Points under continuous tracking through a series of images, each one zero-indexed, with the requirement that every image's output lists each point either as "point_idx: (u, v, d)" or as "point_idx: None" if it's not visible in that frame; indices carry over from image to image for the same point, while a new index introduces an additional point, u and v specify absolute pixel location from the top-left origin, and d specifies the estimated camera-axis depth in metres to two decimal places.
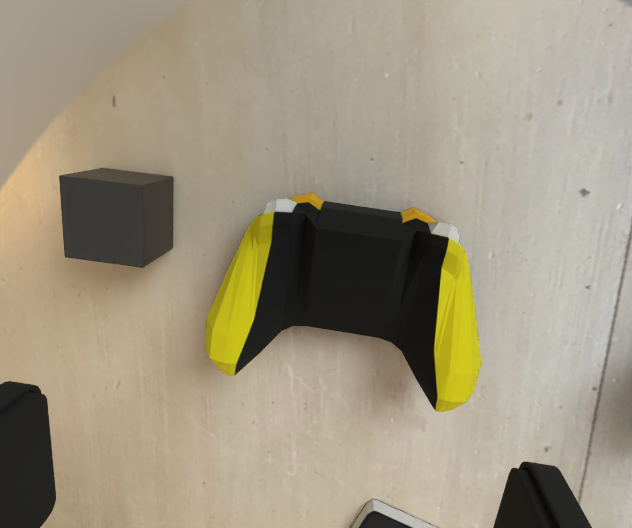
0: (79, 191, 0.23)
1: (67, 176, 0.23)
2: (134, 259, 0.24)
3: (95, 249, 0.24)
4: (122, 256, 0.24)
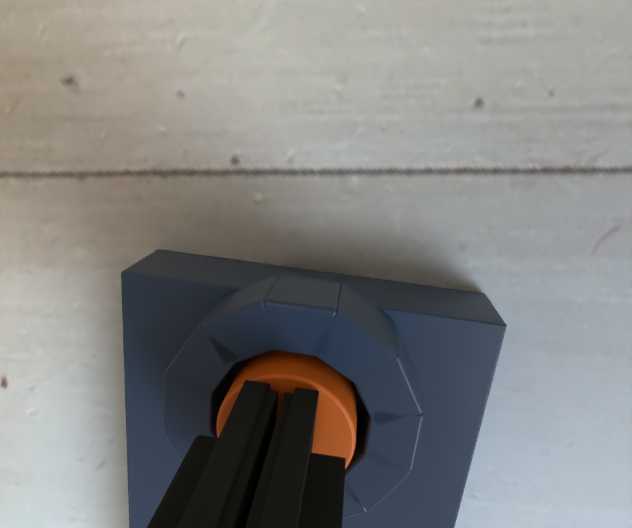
0: None
1: None
2: None
3: None
4: None
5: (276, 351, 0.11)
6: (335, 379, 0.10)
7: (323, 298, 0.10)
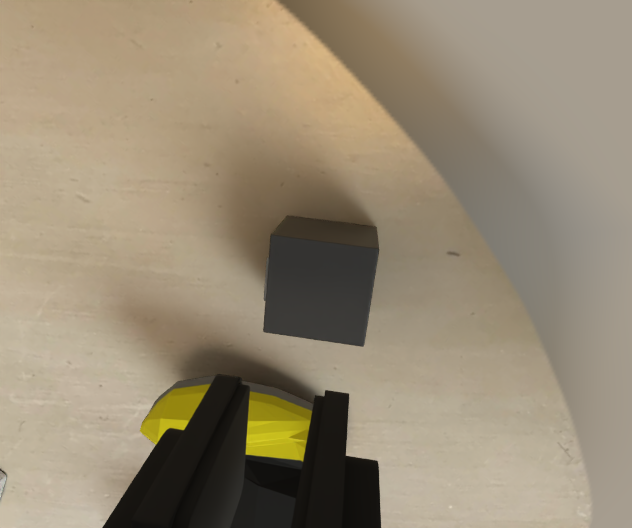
0: (358, 272, 0.18)
1: (377, 257, 0.18)
2: (273, 324, 0.19)
3: (282, 278, 0.19)
4: (276, 310, 0.19)
5: None
6: None
7: None
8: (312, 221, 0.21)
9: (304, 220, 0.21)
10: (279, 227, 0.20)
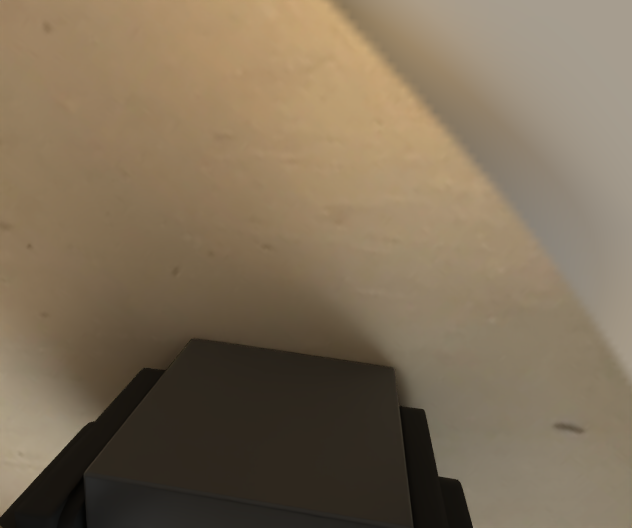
0: None
1: None
2: None
3: None
4: None
5: None
6: None
7: None
8: (244, 361, 0.09)
9: (226, 357, 0.09)
10: (139, 411, 0.07)
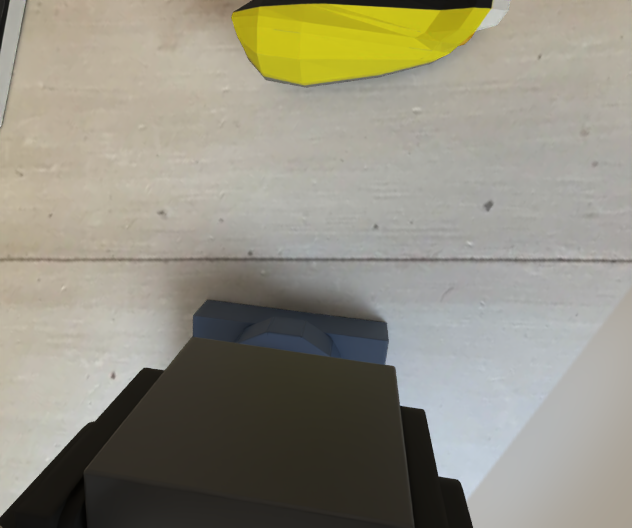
0: None
1: None
2: None
3: None
4: None
5: None
6: None
7: (295, 330, 0.21)
8: (244, 360, 0.09)
9: (226, 356, 0.09)
10: (139, 409, 0.07)
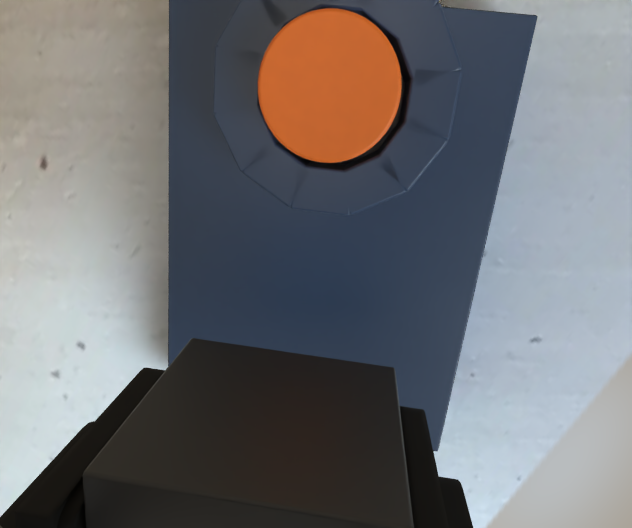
0: None
1: None
2: None
3: None
4: None
5: None
6: None
7: None
8: (244, 361, 0.09)
9: (226, 357, 0.09)
10: (138, 411, 0.07)
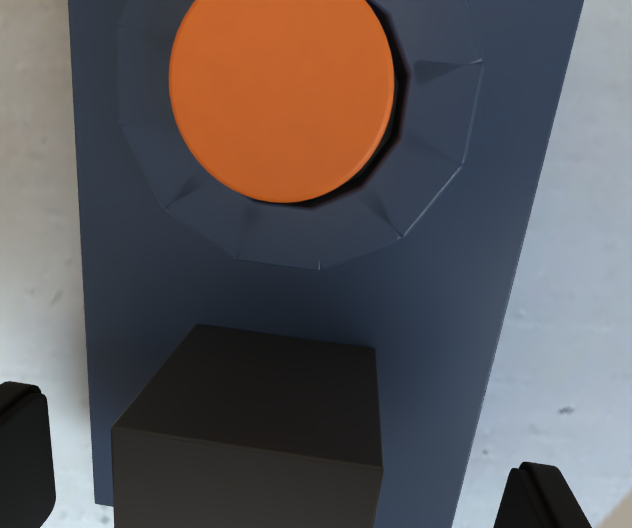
0: (333, 517, 0.07)
1: (379, 484, 0.07)
2: None
3: (149, 520, 0.08)
4: None
5: None
6: None
7: None
8: (242, 343, 0.10)
9: (226, 339, 0.10)
10: (153, 381, 0.08)
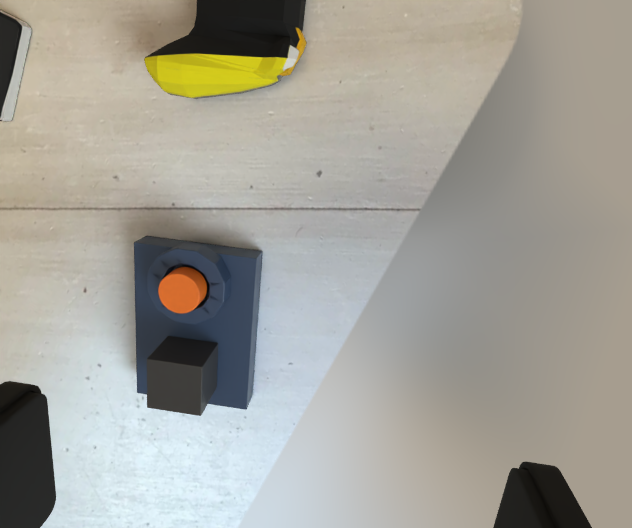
0: (193, 378, 0.35)
1: (202, 371, 0.34)
2: (151, 403, 0.36)
3: (154, 380, 0.35)
4: (152, 396, 0.35)
5: (177, 269, 0.34)
6: (194, 276, 0.34)
7: (194, 248, 0.34)
8: (180, 341, 0.38)
9: (175, 340, 0.38)
10: (155, 350, 0.36)
